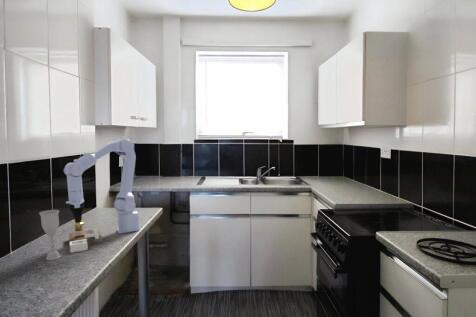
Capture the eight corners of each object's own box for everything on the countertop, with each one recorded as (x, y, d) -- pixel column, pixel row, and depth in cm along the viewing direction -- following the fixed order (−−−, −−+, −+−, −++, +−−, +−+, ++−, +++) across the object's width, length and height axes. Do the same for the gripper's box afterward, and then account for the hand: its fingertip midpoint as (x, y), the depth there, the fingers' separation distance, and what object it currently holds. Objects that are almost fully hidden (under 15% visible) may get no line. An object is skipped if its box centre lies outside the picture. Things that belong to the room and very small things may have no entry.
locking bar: (96, 232, 162) (96, 228, 161) (99, 238, 152) (98, 234, 152) (83, 234, 159) (83, 230, 159) (85, 240, 149) (84, 236, 149)
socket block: (98, 235, 169) (98, 228, 168) (101, 242, 157) (101, 235, 157) (69, 239, 163) (68, 233, 163) (70, 247, 152) (69, 240, 151)
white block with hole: (86, 245, 153) (86, 238, 153) (87, 249, 148) (87, 242, 147) (70, 248, 150) (69, 241, 150) (70, 252, 145) (69, 245, 145)
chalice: (67, 255, 142) (63, 210, 141) (53, 261, 136) (49, 214, 134) (53, 253, 144) (49, 209, 143) (38, 260, 138) (34, 213, 137)
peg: (84, 228, 160) (83, 212, 159) (84, 230, 155) (83, 214, 155) (72, 230, 158) (71, 214, 157) (73, 232, 153) (71, 216, 153)
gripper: (64, 189, 160) (67, 219, 161) (65, 193, 147) (68, 226, 148) (82, 187, 163) (84, 217, 164) (84, 191, 150) (86, 224, 151)
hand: (78, 221), depth 156 cm, fingers closed on peg, 3 cm apart
